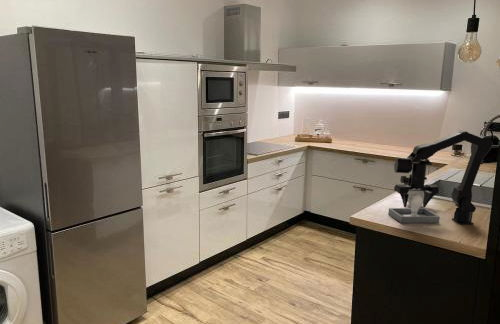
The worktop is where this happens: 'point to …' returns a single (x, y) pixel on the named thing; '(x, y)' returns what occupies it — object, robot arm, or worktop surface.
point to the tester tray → (405, 216)
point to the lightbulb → (415, 203)
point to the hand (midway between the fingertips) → (414, 207)
